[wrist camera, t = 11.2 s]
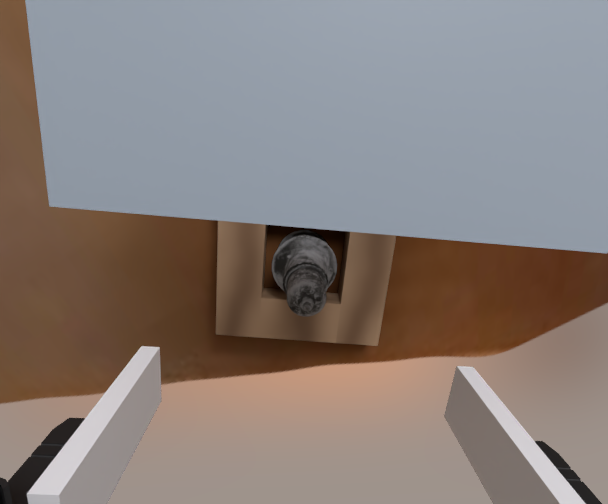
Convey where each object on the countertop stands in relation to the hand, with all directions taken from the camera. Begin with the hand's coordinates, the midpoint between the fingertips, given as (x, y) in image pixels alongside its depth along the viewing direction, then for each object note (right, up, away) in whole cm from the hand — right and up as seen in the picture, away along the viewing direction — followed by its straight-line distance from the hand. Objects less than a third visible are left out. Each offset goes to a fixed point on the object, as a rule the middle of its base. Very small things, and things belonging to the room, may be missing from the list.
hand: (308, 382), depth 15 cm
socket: (0, +7, +18) cm, 20 cm away
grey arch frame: (+1, +16, +16) cm, 23 cm away
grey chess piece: (0, +5, +19) cm, 20 cm away
